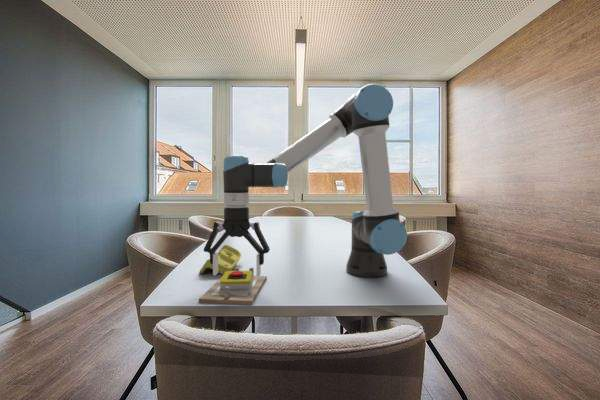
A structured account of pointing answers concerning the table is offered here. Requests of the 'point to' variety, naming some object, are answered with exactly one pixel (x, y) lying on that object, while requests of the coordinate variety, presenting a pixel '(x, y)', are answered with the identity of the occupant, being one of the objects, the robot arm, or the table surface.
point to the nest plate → (227, 298)
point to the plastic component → (224, 260)
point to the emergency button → (237, 282)
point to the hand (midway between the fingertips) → (237, 274)
